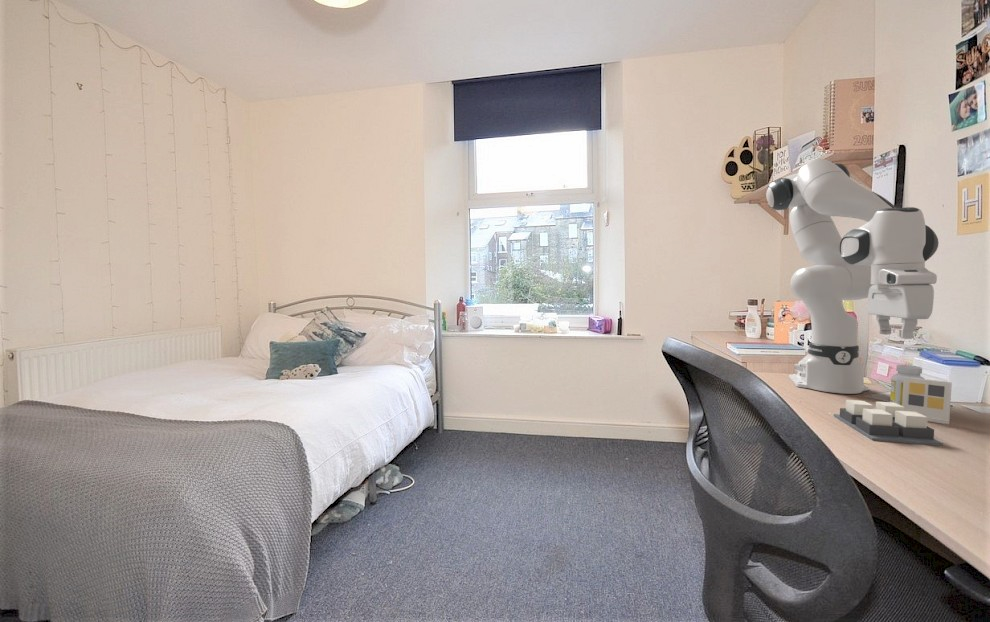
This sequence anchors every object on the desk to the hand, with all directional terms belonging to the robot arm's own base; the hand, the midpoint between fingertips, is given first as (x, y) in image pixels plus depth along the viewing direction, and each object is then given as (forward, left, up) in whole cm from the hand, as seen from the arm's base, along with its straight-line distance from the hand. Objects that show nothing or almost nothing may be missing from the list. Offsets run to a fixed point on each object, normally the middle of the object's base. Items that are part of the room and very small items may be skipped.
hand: (895, 336), depth 94 cm
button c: (0, -6, -19) cm, 20 cm away
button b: (+7, 0, -19) cm, 20 cm away
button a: (0, 0, -19) cm, 19 cm away
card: (-6, +10, -21) cm, 25 cm away
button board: (+4, -3, -21) cm, 22 cm away
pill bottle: (-14, +11, -22) cm, 28 cm away
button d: (+7, -6, -19) cm, 21 cm away
